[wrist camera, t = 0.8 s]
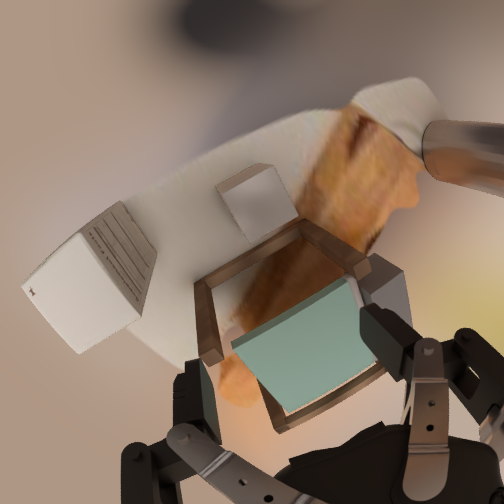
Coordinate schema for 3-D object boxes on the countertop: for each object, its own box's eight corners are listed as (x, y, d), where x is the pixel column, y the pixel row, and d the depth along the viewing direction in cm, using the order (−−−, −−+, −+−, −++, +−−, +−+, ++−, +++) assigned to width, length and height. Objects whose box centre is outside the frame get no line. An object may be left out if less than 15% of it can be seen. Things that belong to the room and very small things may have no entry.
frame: (305, 218, 31) (367, 257, 20) (344, 310, 37) (395, 365, 26) (193, 283, 31) (198, 356, 19) (254, 363, 37) (279, 434, 25)
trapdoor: (371, 241, 24) (400, 258, 20) (392, 323, 29) (414, 344, 25) (227, 328, 24) (235, 360, 20) (280, 393, 28) (292, 422, 24)
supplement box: (110, 287, 29) (77, 358, 17) (73, 235, 26) (15, 284, 14) (160, 255, 29) (144, 319, 17) (122, 197, 26) (77, 229, 15)
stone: (257, 163, 28) (273, 165, 23) (278, 203, 30) (298, 215, 24) (215, 186, 28) (221, 194, 22) (238, 226, 30) (249, 244, 24)
